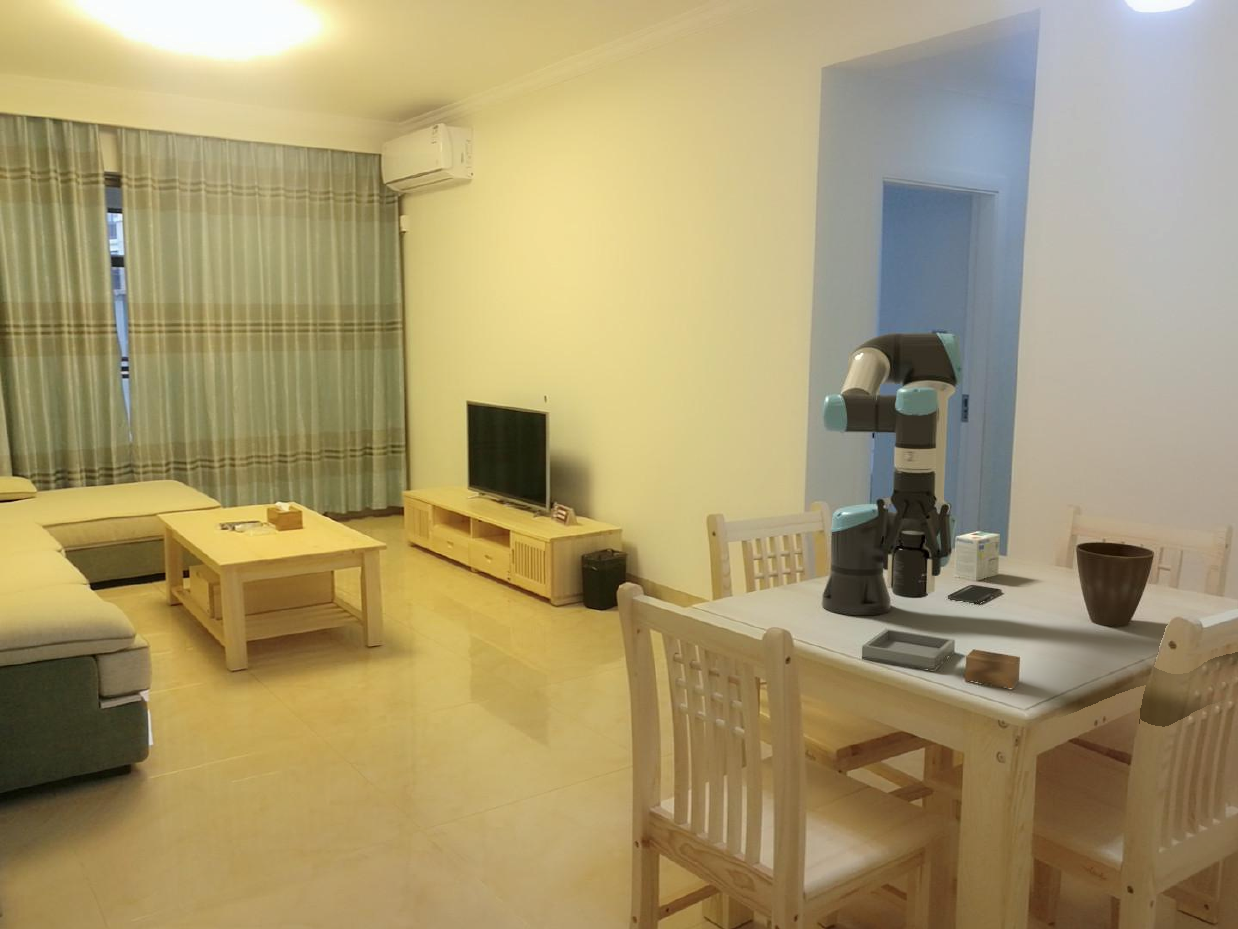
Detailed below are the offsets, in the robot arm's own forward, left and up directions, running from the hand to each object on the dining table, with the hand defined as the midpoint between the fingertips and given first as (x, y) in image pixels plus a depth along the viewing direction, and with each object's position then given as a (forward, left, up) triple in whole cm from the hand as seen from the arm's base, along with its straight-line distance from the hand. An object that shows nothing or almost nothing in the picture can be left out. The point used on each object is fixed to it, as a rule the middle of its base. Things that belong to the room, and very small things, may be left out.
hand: (910, 589), depth 189 cm
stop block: (+17, -6, -13) cm, 22 cm away
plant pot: (+29, +46, -13) cm, 56 cm away
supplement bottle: (0, 0, -1) cm, 1 cm away
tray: (0, 0, -13) cm, 13 cm away
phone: (-1, +53, -14) cm, 55 cm away
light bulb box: (-6, +74, -13) cm, 75 cm away
